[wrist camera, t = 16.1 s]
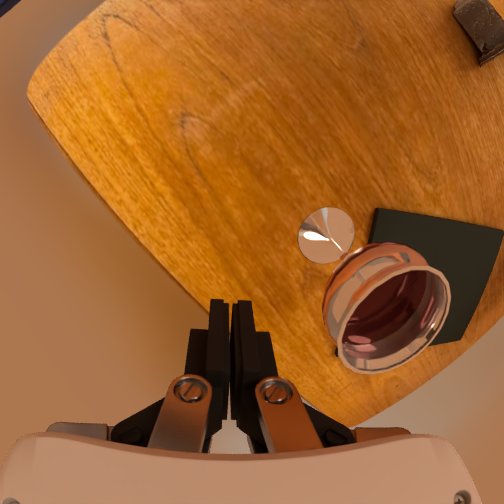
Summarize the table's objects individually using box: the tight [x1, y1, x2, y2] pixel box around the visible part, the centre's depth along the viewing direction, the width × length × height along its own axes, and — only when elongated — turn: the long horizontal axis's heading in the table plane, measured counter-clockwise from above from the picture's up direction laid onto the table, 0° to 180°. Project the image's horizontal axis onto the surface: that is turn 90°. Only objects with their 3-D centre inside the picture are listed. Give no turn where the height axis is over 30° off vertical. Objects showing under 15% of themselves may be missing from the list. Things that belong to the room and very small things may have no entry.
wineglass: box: [298, 207, 451, 374], centre depth 18 cm, size 7×7×12 cm
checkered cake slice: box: [453, 0, 504, 67], centre depth 13 cm, size 10×7×12 cm
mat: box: [335, 208, 504, 357], centre depth 27 cm, size 20×16×1 cm
